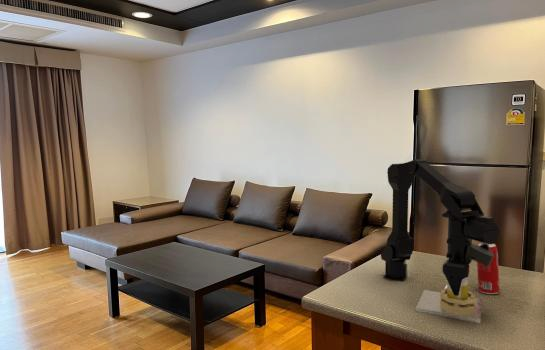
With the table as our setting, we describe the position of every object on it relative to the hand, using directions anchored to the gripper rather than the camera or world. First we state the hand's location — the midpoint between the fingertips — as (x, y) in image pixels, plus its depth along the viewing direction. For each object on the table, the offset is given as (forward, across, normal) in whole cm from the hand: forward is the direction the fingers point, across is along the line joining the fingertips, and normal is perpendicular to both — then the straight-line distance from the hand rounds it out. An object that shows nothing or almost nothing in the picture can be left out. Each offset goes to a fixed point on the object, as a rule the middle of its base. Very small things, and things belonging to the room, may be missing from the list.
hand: (457, 289), depth 110 cm
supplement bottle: (+5, 0, 0) cm, 5 cm away
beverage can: (+6, +17, -7) cm, 19 cm away
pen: (+6, +20, +4) cm, 21 cm away
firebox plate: (+6, 0, +2) cm, 6 cm away
